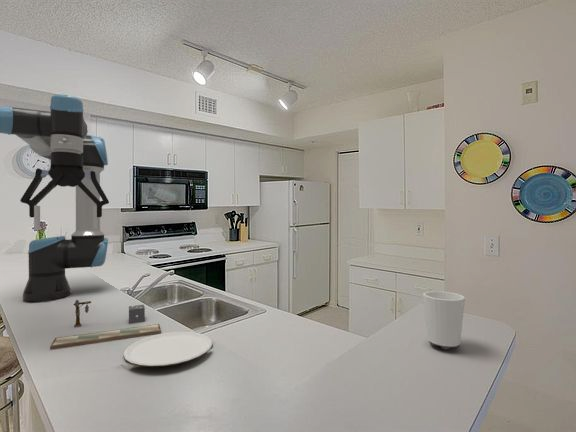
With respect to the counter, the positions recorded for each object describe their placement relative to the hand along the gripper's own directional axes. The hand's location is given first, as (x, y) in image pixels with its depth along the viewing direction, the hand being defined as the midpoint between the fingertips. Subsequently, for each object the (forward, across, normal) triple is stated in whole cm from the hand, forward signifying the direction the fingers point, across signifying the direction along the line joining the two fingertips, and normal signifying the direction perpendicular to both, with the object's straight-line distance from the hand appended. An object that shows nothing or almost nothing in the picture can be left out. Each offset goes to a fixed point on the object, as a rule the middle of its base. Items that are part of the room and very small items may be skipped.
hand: (67, 229), depth 91 cm
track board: (+30, +11, -6) cm, 32 cm away
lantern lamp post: (+30, +2, +9) cm, 31 cm away
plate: (+30, +25, -21) cm, 45 cm away
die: (+30, +18, +6) cm, 35 cm away
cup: (+30, +89, -49) cm, 106 cm away
